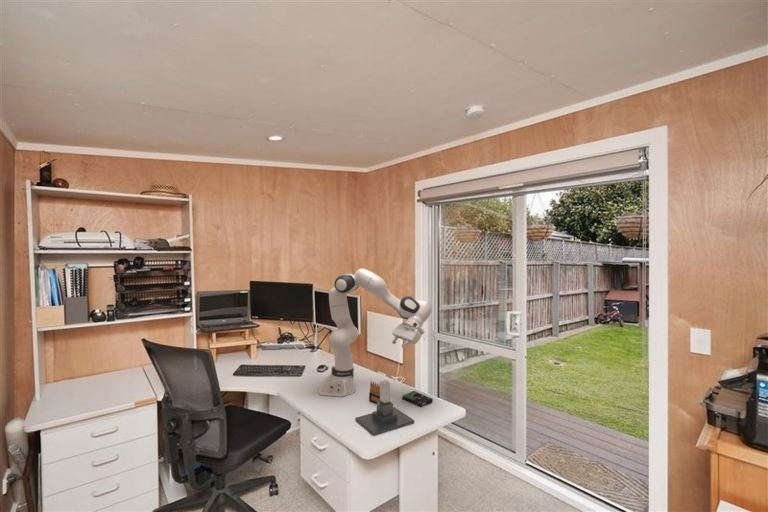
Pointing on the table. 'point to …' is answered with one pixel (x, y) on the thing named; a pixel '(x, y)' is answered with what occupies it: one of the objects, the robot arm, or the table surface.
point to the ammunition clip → (374, 392)
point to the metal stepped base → (384, 419)
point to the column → (384, 392)
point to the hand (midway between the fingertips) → (397, 345)
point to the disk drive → (417, 399)
